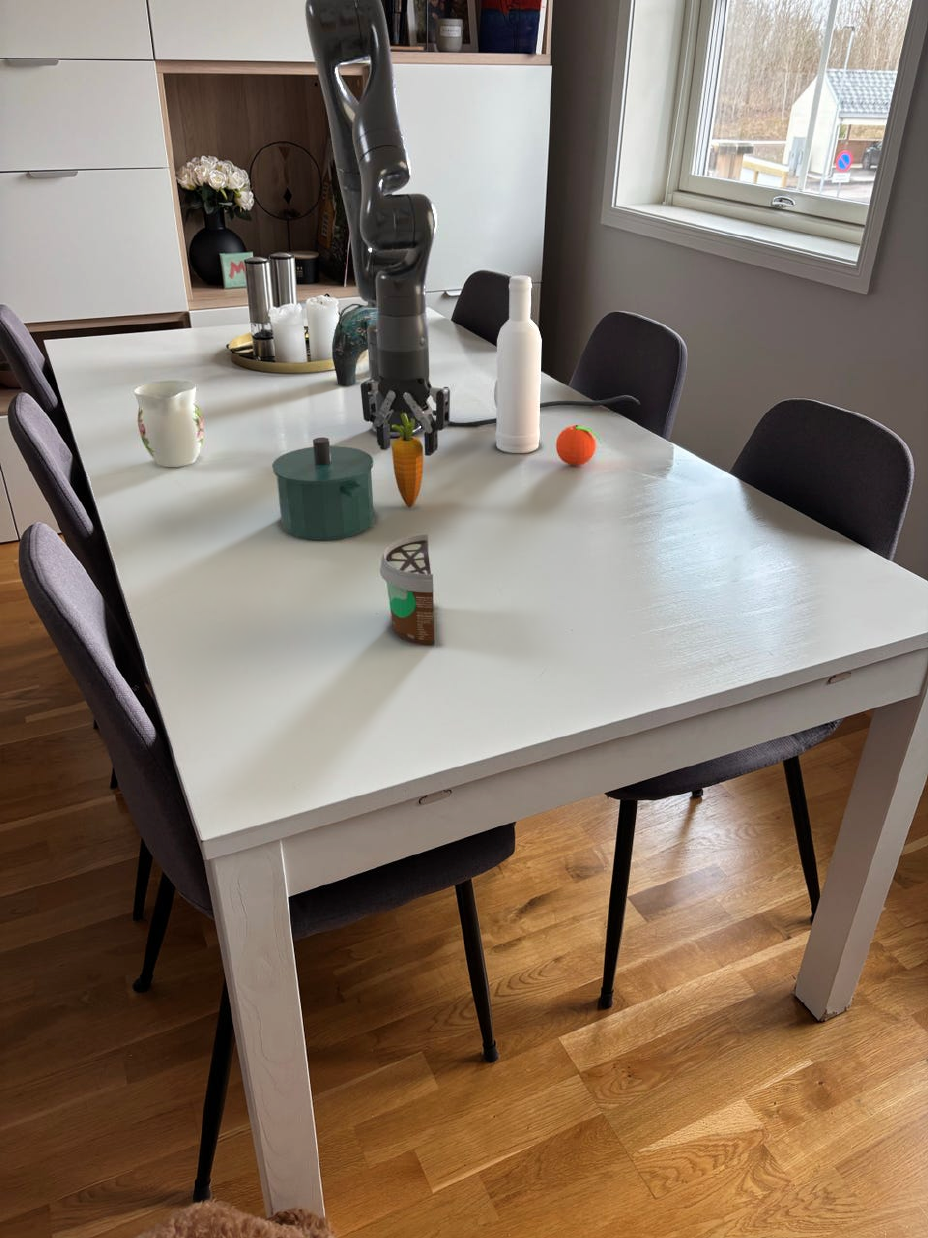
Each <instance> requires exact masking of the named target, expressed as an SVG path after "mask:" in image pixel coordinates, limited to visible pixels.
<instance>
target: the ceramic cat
mask: <svg viewBox="0 0 928 1238" xmlns="http://www.w3.org/2000/svg"><path fill="white" fill-rule="evenodd" d="M355 306H356V307H355ZM351 307H353V308H352V309H351V310H348V309H349V308H351ZM347 310H348V311H347ZM345 311H347V312H345ZM375 321H377V303H374V302H367V304H366V305H364V304H359V303H351V304H349V305H347V306H345V307H344V308H343V309H342V310H341V311H340V314H339V316H338V321H337V323H336V325H335V329H334V333H333V336H332V341H331V356H332V357H331V358H332V362H333V366H334V371H335V376H336V381H337V385H339V386H345V387H348V386H352V385H354V384H355V383H356V371H357V364H358V362H359V359H360V357H361V356H362V354H363V353H364V352H366V351H368V336H367V329H368V326H369V325H370V324H372V323H373V322H375Z"/></svg>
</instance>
